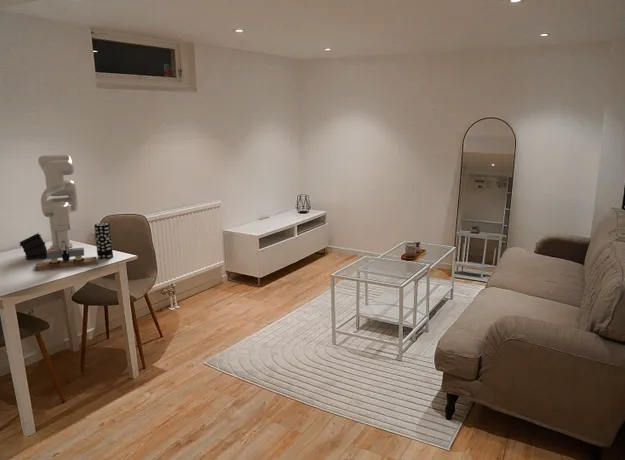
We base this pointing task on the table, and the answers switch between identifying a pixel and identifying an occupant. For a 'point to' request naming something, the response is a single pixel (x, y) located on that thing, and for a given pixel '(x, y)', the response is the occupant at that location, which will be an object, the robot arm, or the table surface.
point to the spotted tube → (103, 241)
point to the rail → (65, 263)
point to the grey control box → (72, 252)
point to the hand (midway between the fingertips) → (66, 259)
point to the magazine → (34, 247)
